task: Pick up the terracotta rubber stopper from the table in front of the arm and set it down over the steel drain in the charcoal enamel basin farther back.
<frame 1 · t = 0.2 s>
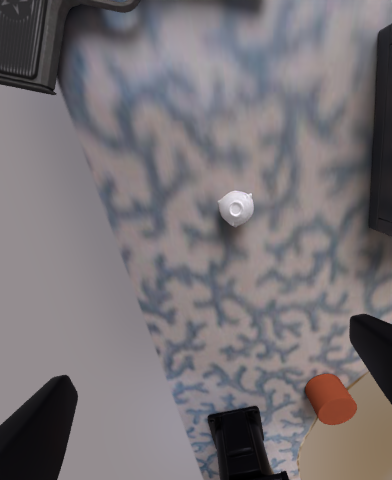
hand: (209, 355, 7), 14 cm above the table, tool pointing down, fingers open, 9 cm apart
stopper: (322, 386, 29), on the table
pistol: (115, 107, 17), point 1 cm above the table
white bumpy ball: (231, 203, 21), on the table
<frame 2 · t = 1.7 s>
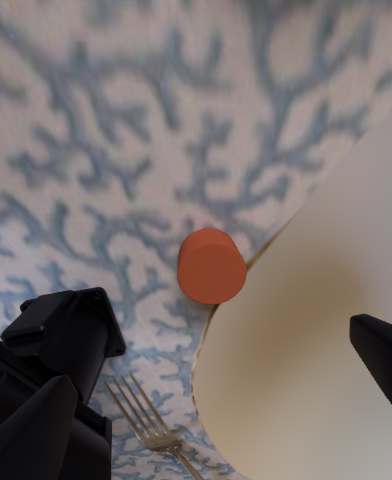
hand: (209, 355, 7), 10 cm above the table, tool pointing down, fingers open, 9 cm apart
stopper: (207, 256, 18), on the table
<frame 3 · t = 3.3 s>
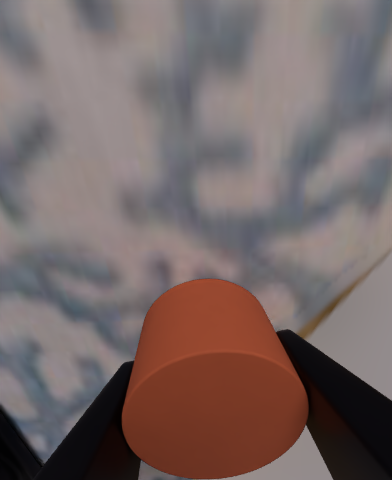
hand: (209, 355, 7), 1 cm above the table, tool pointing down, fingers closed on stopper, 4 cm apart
stopper: (205, 333, 8), on the table, touching gripper
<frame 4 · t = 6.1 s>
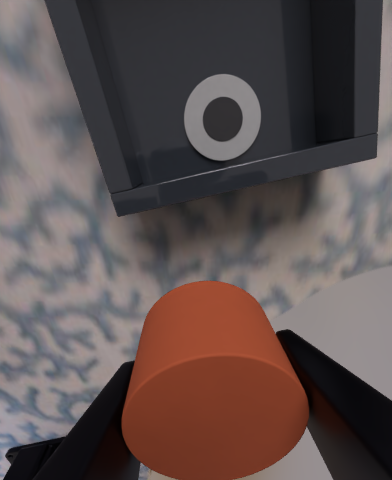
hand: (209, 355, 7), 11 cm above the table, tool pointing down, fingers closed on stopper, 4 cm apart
stopper: (205, 335, 8), point 10 cm above the table, touching gripper
basin: (208, 52, 14), on the table
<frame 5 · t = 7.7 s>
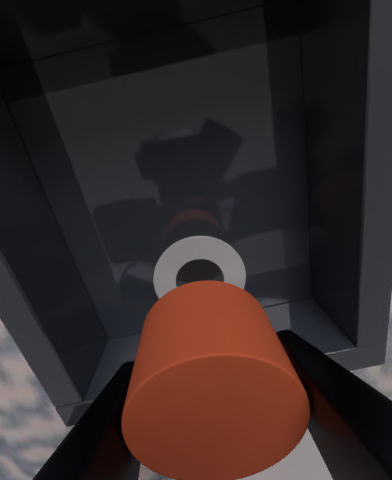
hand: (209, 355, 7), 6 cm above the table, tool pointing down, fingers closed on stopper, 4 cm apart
stopper: (205, 334, 8), point 5 cm above the table, touching gripper
basin: (182, 201, 11), on the table
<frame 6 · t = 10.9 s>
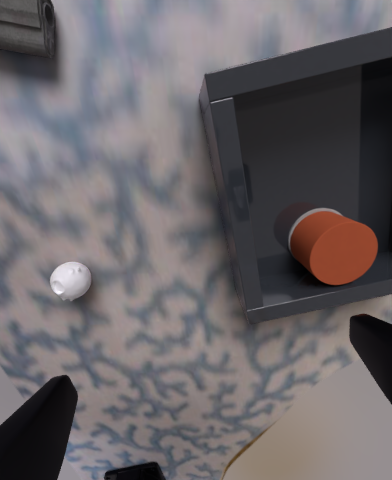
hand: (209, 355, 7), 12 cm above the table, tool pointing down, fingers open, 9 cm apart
stopper: (318, 239, 18), point 1 cm above the table, touching basin
basin: (308, 186, 18), on the table
white bumpy ball: (79, 269, 19), on the table
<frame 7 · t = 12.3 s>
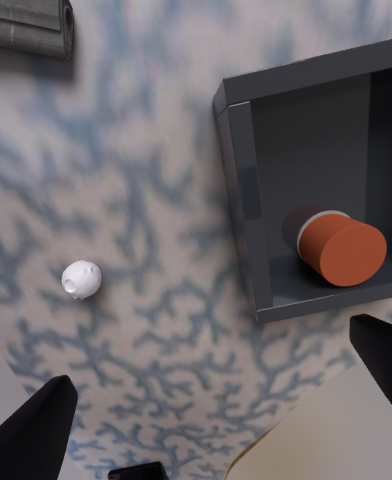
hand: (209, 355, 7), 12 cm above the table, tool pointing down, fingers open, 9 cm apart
stopper: (326, 241, 18), point 1 cm above the table, touching basin
basin: (317, 189, 18), on the table
white bumpy ball: (89, 268, 19), on the table
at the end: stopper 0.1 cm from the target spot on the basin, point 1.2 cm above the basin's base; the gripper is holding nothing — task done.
